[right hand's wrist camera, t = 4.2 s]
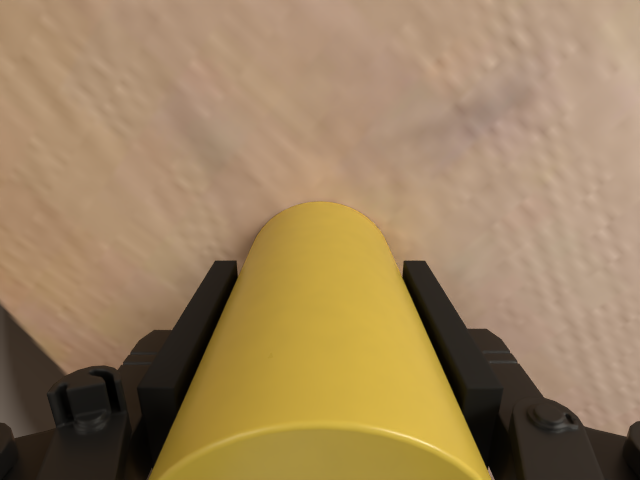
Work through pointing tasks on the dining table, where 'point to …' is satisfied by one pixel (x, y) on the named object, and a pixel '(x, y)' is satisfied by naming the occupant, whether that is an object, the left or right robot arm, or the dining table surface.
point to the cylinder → (320, 368)
